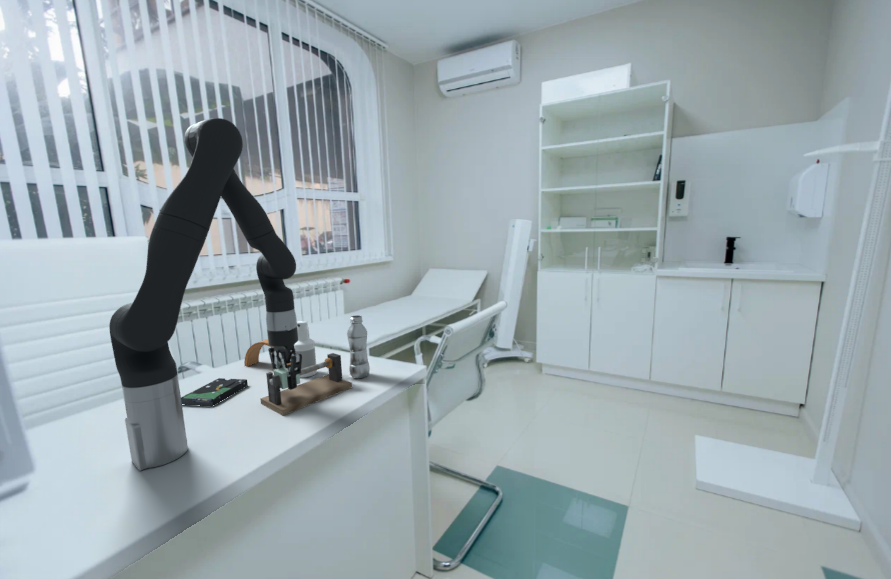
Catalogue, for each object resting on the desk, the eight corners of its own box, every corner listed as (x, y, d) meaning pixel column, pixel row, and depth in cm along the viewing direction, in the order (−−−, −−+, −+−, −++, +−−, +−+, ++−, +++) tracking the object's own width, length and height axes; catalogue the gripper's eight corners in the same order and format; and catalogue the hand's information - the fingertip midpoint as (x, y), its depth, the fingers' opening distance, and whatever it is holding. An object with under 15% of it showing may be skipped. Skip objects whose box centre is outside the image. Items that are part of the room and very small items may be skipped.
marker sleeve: (283, 389, 102) (281, 373, 101) (274, 385, 105) (273, 370, 104) (300, 383, 106) (298, 368, 105) (291, 379, 108) (290, 365, 108)
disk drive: (219, 386, 121) (180, 407, 106) (218, 378, 120) (178, 397, 106) (248, 387, 119) (213, 408, 105) (247, 378, 119) (212, 398, 104)
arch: (287, 373, 129) (285, 344, 128) (244, 367, 137) (241, 340, 135) (299, 367, 135) (297, 340, 133) (257, 361, 142) (255, 335, 140)
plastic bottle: (372, 372, 127) (369, 314, 124) (366, 380, 120) (362, 319, 117) (353, 372, 127) (350, 314, 124) (346, 380, 121) (342, 319, 118)
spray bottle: (290, 377, 125) (285, 323, 122) (304, 369, 132) (299, 319, 129) (308, 378, 123) (303, 324, 120) (321, 371, 130) (316, 319, 127)
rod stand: (283, 415, 98) (279, 380, 97) (260, 403, 106) (257, 370, 104) (352, 387, 115) (350, 357, 114) (328, 378, 123) (326, 350, 121)
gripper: (255, 325, 104) (262, 385, 107) (282, 333, 95) (288, 397, 98) (281, 320, 110) (287, 376, 113) (309, 326, 101) (314, 387, 104)
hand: (287, 386), depth 105 cm, fingers closed on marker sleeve, 4 cm apart
